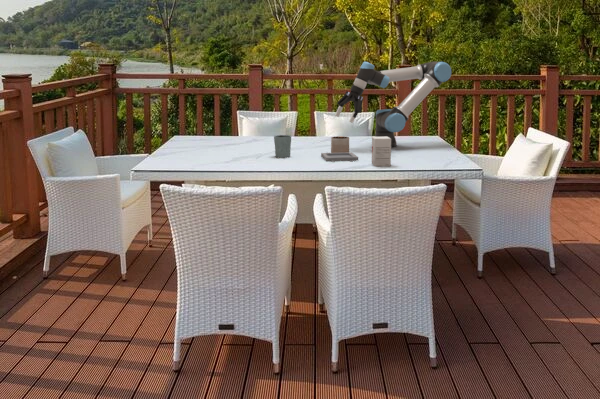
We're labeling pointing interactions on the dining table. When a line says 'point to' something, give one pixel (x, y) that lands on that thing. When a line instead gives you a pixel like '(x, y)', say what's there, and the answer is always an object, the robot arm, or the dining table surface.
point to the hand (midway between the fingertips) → (343, 119)
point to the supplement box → (381, 151)
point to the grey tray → (339, 156)
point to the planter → (339, 144)
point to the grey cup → (282, 146)
